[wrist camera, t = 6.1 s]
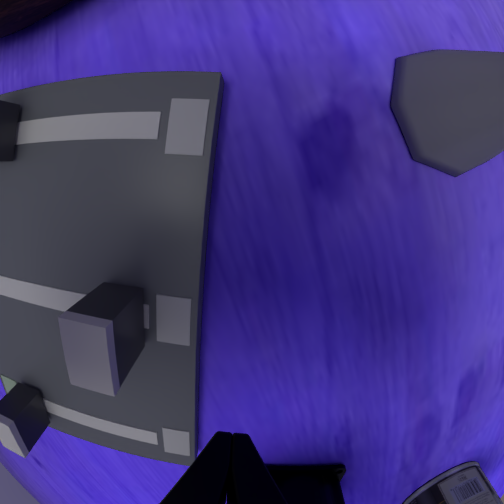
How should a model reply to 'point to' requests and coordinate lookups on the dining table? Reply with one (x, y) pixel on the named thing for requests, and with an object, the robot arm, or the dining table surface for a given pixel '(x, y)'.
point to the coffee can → (457, 488)
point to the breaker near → (8, 129)
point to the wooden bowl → (25, 13)
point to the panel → (111, 245)
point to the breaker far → (22, 419)
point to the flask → (451, 107)
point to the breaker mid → (103, 337)
